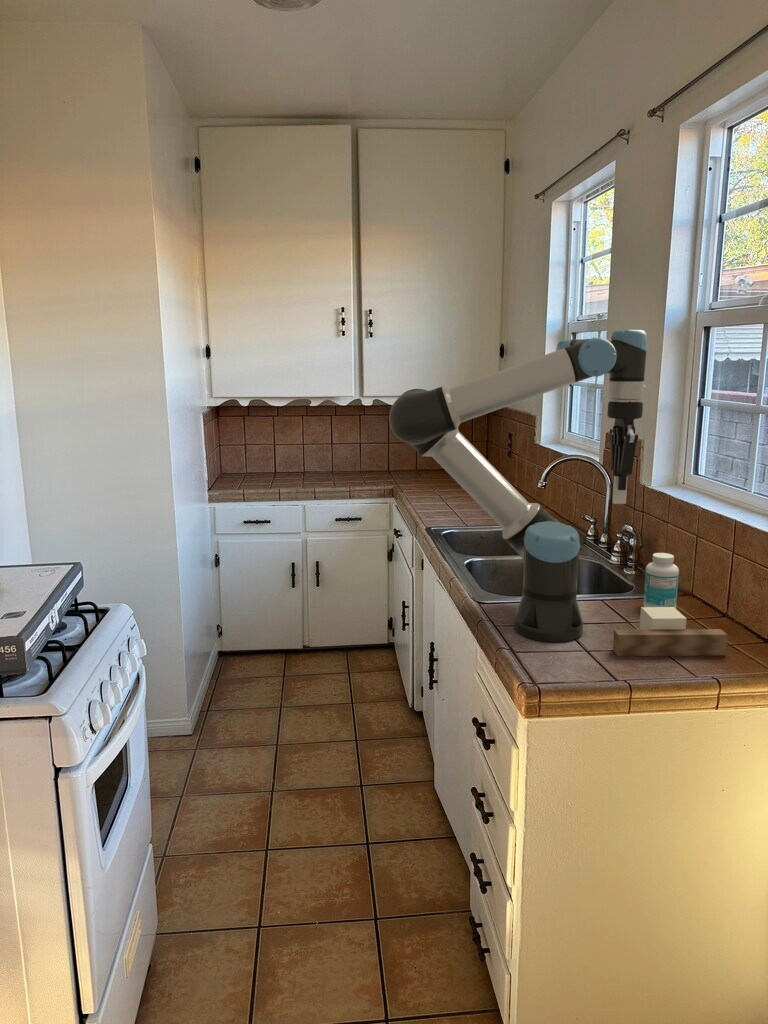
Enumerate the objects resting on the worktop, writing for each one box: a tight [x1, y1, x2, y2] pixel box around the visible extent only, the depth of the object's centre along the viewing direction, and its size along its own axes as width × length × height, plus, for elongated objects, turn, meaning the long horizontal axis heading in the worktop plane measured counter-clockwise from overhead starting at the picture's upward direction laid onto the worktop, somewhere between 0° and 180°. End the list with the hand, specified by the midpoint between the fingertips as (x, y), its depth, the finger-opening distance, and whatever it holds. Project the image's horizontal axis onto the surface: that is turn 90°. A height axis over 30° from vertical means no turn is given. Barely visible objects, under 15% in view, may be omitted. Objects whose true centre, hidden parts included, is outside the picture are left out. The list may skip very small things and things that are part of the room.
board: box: [612, 628, 728, 657], centre depth 150 cm, size 22×3×4 cm, turn 90°
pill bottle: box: [643, 552, 680, 610], centre depth 175 cm, size 8×7×14 cm
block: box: [639, 606, 687, 629], centre depth 155 cm, size 7×7×7 cm
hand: (619, 503), depth 169 cm, fingers closed
